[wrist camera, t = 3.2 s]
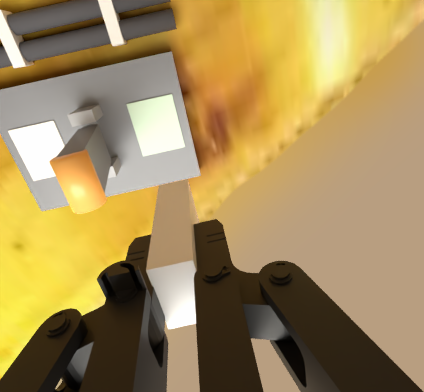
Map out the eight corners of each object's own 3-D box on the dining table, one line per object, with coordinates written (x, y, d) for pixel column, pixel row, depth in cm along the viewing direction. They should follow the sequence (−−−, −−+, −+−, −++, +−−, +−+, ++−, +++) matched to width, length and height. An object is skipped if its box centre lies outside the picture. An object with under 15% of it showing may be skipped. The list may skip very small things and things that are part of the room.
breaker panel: (47, 203, 38) (29, 225, 34) (-10, 91, 32) (-42, 99, 28) (199, 169, 38) (202, 186, 34) (171, 51, 32) (170, 51, 28)
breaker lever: (91, 162, 33) (69, 217, 22) (77, 127, 31) (44, 166, 20) (114, 156, 33) (105, 207, 22) (102, 121, 32) (84, 156, 20)
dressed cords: (-27, 78, 31) (-40, 80, 30) (-55, 26, 29) (-70, 25, 28) (177, 32, 31) (177, 31, 30) (165, -23, 29) (164, -27, 28)
